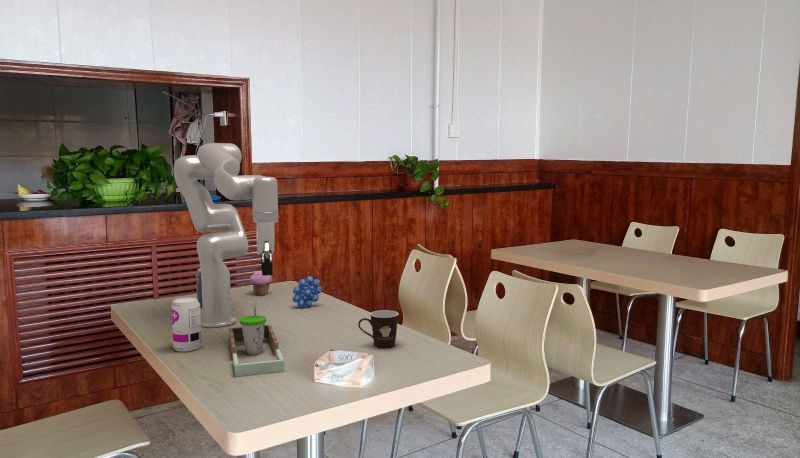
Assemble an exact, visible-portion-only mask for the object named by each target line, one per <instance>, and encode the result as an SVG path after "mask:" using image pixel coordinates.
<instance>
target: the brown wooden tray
mask: <svg viewBox="0 0 800 458" xmlns="http://www.w3.org/2000/svg"><path fill="white" fill-rule="evenodd" d="M273 329H274V328H273V327H272V325H271V324H265V327H264V337H263V344H268V343H269V344H270V346H271V349H272V352H273V355H274V357H276V349H279V342H278V339H277V336H276V334H275V332H274V330H273ZM228 338H229V339H228V341H229V347H230V352H231V359H232V361H233V354H235V353H237V347H238V346H245V342H244V336H243V330H242V326H241V327H240V326H239V327H229V328H228Z"/></svg>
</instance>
